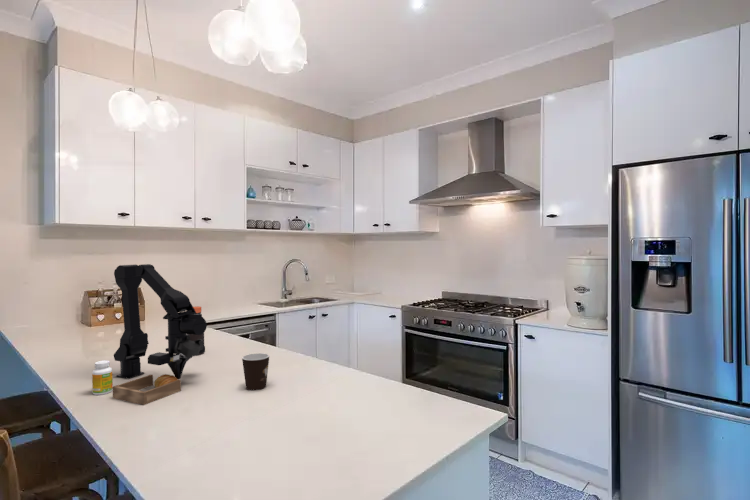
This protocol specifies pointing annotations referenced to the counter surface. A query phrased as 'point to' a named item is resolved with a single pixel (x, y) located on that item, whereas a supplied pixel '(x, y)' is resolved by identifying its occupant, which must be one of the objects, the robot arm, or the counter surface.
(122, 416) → the counter surface
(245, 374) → the coffee mug
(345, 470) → the counter surface
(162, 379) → the pastry
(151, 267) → the robot arm
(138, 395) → the box
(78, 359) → the counter surface
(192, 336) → the vinegar
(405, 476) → the counter surface
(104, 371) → the supplement bottle
